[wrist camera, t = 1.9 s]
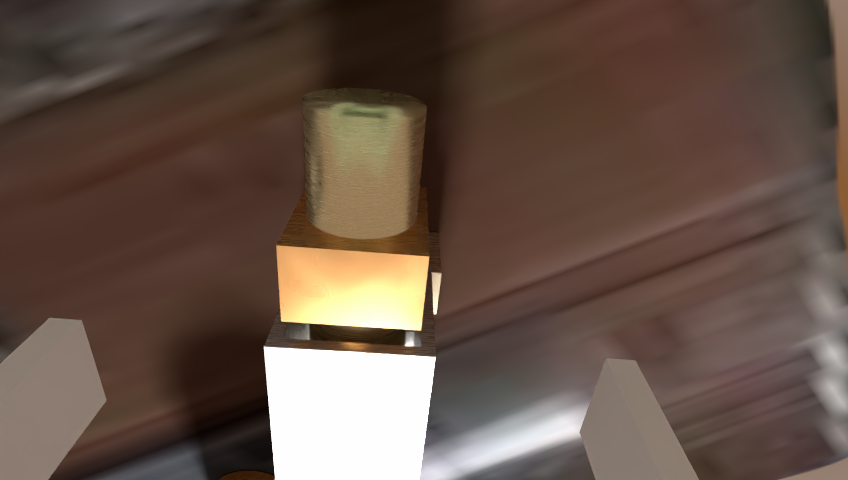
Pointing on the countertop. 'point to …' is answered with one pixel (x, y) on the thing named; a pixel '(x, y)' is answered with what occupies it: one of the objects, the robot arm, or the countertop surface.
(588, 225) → the countertop surface
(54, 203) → the countertop surface
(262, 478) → the disposable coffee cup
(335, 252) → the cylinder on square base
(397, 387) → the white blocky legged figure
